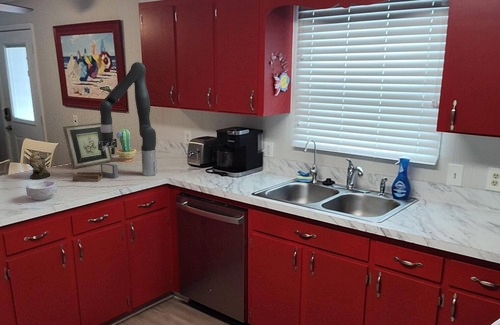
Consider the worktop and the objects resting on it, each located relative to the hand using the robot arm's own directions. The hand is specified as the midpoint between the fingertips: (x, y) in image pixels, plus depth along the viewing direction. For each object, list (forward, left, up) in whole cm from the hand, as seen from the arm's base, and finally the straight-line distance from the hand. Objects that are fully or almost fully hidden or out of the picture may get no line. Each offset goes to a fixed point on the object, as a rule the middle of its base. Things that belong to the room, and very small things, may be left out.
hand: (108, 155), depth 273 cm
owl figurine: (+46, -1, -15) cm, 48 cm away
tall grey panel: (0, 0, -15) cm, 15 cm away
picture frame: (+25, -37, -15) cm, 47 cm away
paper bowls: (+24, +46, -15) cm, 54 cm away
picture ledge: (+12, +7, -15) cm, 20 cm away
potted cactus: (+1, -51, -15) cm, 53 cm away
